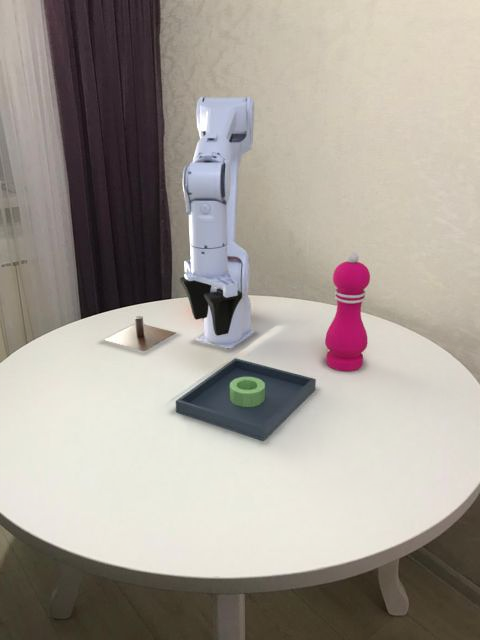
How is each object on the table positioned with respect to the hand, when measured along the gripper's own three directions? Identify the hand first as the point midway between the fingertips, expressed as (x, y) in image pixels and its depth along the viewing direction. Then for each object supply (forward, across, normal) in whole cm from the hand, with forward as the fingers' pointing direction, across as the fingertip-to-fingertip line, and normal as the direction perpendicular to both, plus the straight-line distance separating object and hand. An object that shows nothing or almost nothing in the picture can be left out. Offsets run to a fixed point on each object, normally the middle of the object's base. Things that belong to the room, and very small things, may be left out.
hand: (210, 325), depth 96 cm
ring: (+9, +10, +1) cm, 14 cm away
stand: (+9, -21, -5) cm, 23 cm away
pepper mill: (+10, +7, +22) cm, 25 cm away
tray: (+9, +10, +1) cm, 14 cm away
